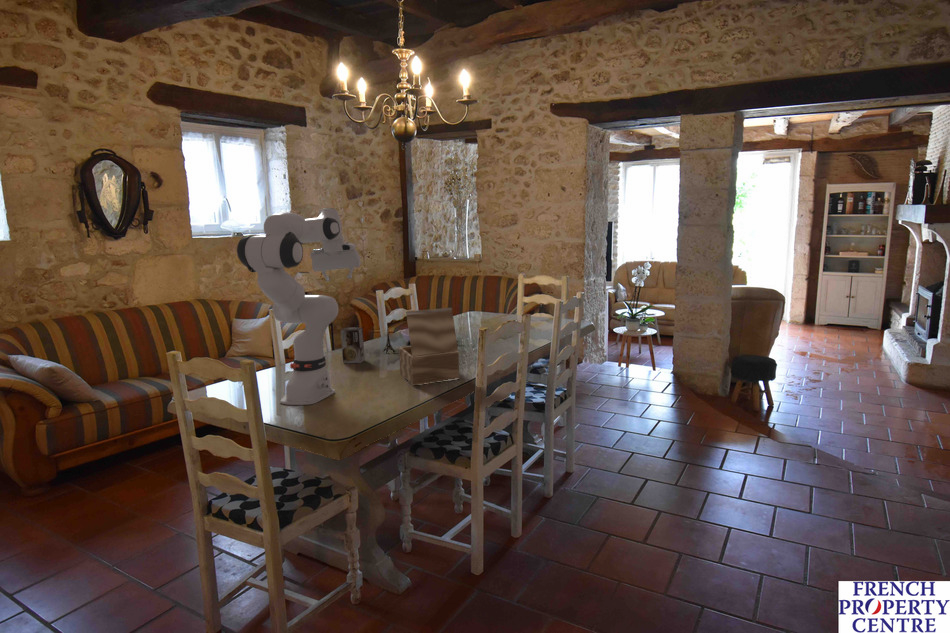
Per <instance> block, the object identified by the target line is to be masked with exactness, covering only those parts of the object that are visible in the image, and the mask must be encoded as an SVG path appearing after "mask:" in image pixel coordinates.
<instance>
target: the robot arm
mask: <svg viewBox="0 0 950 633" xmlns="http://www.w3.org/2000/svg"><path fill="white" fill-rule="evenodd" d="M342 230H343V227H342V220H341V217H340V214H339V211H338V210H337V209H336V208H333V207H328V208H327V207H325V208H321V209H319V210H318V216H317V217H312V218H311V217H310V218H305V217H304V216H302V215H301V214H299V213H294V212H289V211H288V212H286V211H285V212H278V213H273V214H271V215H269V216H268V217H266V218H265V220H264V222H263V231H264V234H265V235H264V234H263V235H262V234H261V235H248V236H244V237H242V238H240V240H239V241H238V242H237V246H236V255H237V258H238V259H239V261H240V262H241V263H242V265H243V266H244V267H246V268H247V270H248V271H249V272H250V273H257V284H258V287H259V289H260V290H261V292H262V293H263V294H264V295H265V296H266V297H267V298H268V299H269V300H270V301H271V302H273V303H272V307H271V308H272V314H273V318H275V319H276V320H277V321H278V322H282V323H286V324H287V323H288V324H305V328H304V331H302V332H300V333H299V334H297V335H296V336H295V337H294V339H293V353H294V354H293V355H294V359H293V362H291V363H290V365H289V367H290V368H289V369H293V371H292V373H291V374H290V378H289V379H288V381H287V384H286V386H285V394H284V396H282V398H281V399H280V402H279V404H282V405H289V406H291V405H292V406H306V405H315V404H317V403H318V402H320V401H322V400H324V399H326V398H328V397H330V396H331V395H333V394H335V393H336V389H334V388H333V386H332V380H331V375H330V371H329V370H328V369H327V367H326V365H327V363H326V361H327V360H326V356H325V352H324V337H325V332H326V330H327V329H328V327H329V325H331V323H332V322H333V321H335V320H336V319H337V316H338V314H339V303H338V302H337V301H336V299H335V298H334V297H332V296H328V295H323V294H306V291H305V289H304V287H303V285H302V284H301V283H300V282H299V281H297V280H296V278H294V277H293V276H292V275H291V274H289V273H288V272H286V270H285V269H284V268H286V269H290V268H296V267H298V266H299V265H300V263H302V260H303V258H304V248H303V245H304V244H310V243H322V248H317V249H316V248H315V249H313V250H312V251H310V259H311V266H312V270H313V271H314V272H321V274H322V276H323V277H324V278H325V282H329V281H331V278H330V277H331V276H328V274H327V271H334V270H335V271H336V270H343V269H348V271H349V274H346V275H347V280H349V279H351V280H352V278H353V276H352V275H353V271H354V268H360V266H361V265H362V261H361V257H360V253H359V251H358V250H357V249H356V248H357V246H356V244H355V243H351V242H346V241H345V239H344V236H343V233H342V232H343V231H342Z"/></svg>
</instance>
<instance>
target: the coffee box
mask: <svg viewBox="0 0 950 633" xmlns="http://www.w3.org/2000/svg"><path fill="white" fill-rule="evenodd" d="M363 333H364V331H363V327H357V326H356V327H344V328H342V329H340V339H341V352H342V363H343V364H362V363H363V362H364V361H365V346H364V344H365V343H364V334H363Z"/></svg>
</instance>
